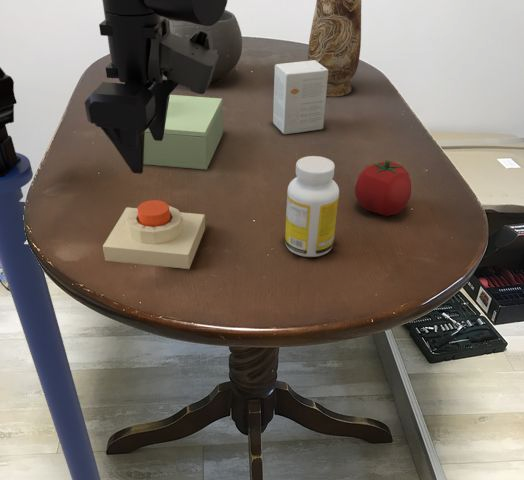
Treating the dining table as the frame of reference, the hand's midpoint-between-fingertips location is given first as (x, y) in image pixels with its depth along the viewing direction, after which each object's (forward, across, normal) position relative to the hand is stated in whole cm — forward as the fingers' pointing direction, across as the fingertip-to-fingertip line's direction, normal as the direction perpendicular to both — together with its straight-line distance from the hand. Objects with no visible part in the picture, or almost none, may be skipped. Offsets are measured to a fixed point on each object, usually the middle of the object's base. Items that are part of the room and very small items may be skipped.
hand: (148, 155), depth 71 cm
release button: (+9, 0, 0) cm, 9 cm away
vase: (+12, +64, -20) cm, 68 cm away
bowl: (+12, +65, +8) cm, 66 cm away
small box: (+12, +43, -15) cm, 47 cm away
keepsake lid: (+7, +30, +4) cm, 31 cm away
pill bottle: (+12, +3, -20) cm, 24 cm away
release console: (+12, 0, 0) cm, 12 cm away
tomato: (+12, +15, -30) cm, 36 cm away
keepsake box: (+12, +30, +4) cm, 32 cm away
